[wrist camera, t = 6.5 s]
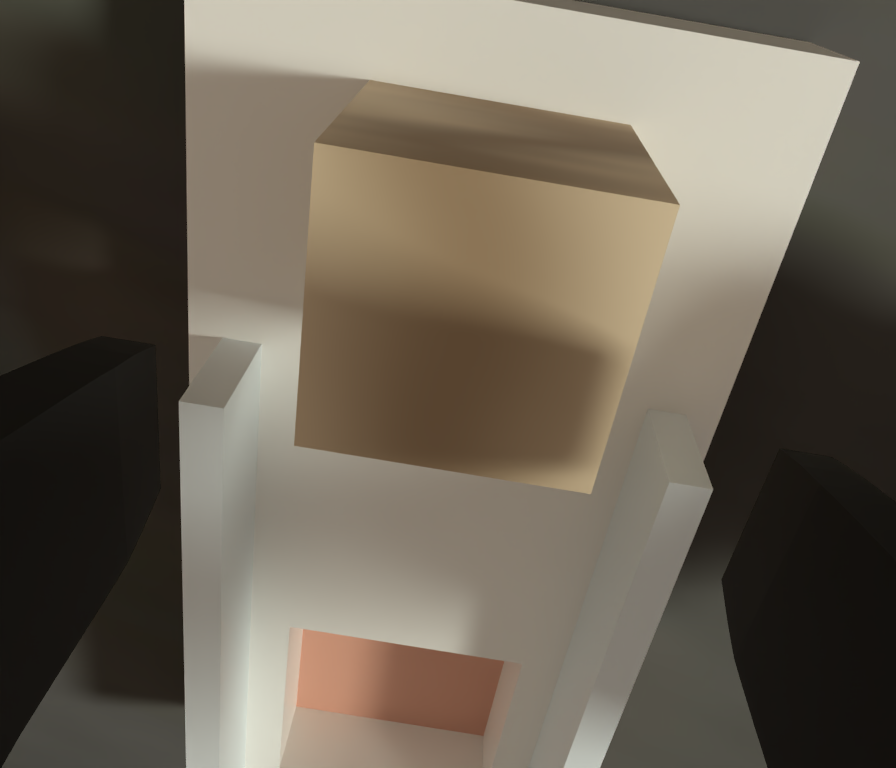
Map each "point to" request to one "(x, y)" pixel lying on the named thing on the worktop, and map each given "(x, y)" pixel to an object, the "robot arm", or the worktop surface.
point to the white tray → (439, 491)
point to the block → (475, 284)
